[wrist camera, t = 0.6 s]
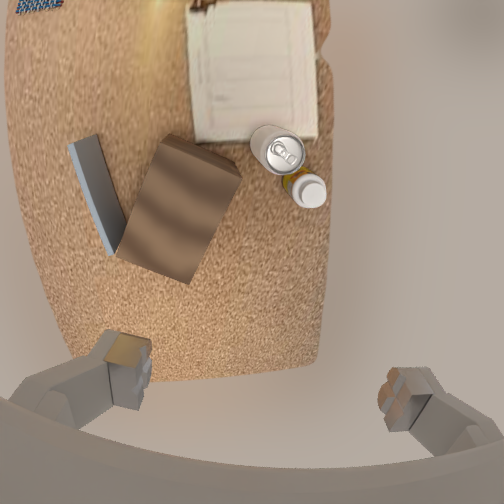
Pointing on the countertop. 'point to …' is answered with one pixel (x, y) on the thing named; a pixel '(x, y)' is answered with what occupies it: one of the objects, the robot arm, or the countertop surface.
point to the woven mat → (37, 5)
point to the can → (277, 149)
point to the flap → (98, 191)
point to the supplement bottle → (305, 188)
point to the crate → (178, 209)
